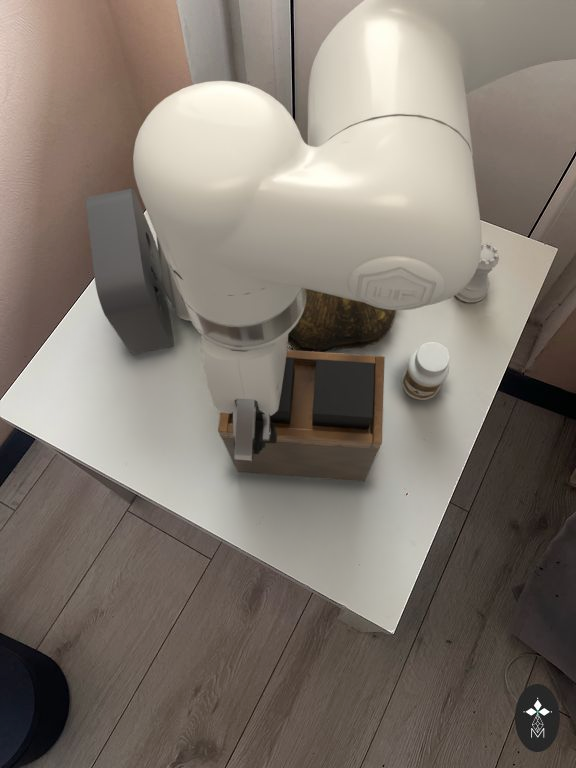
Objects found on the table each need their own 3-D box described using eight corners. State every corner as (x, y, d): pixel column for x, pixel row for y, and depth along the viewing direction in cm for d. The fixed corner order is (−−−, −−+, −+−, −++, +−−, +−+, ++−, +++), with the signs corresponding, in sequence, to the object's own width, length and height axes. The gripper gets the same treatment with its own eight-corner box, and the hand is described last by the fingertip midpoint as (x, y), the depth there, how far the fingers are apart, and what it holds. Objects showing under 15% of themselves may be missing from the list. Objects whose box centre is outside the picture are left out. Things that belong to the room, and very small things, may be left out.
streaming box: (80, 185, 64) (128, 176, 64) (119, 260, 78) (159, 252, 78) (93, 305, 59) (146, 294, 59) (133, 362, 73) (176, 354, 73)
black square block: (370, 377, 56) (374, 362, 52) (368, 430, 54) (372, 418, 51) (315, 373, 56) (316, 358, 53) (312, 426, 54) (312, 413, 51)
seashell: (389, 274, 75) (400, 254, 68) (400, 345, 74) (413, 332, 67) (257, 290, 75) (255, 272, 68) (266, 362, 74) (265, 351, 67)
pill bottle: (396, 393, 70) (406, 367, 63) (408, 360, 72) (419, 331, 65) (433, 406, 70) (448, 382, 62) (444, 373, 71) (460, 345, 64)
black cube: (240, 368, 56) (236, 353, 53) (294, 372, 56) (294, 357, 53) (234, 420, 55) (230, 407, 51) (290, 424, 54) (289, 412, 51)
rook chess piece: (493, 283, 75) (513, 246, 68) (476, 310, 74) (496, 276, 66) (460, 266, 76) (477, 228, 69) (443, 293, 75) (459, 257, 67)
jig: (367, 411, 70) (384, 356, 55) (365, 481, 67) (382, 443, 52) (245, 403, 70) (228, 345, 56) (237, 472, 68) (217, 431, 53)
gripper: (201, 164, 40) (231, 293, 56) (159, 416, 34) (207, 480, 50) (315, 169, 39) (313, 298, 55) (294, 426, 33) (299, 487, 49)
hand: (263, 384), depth 53 cm, fingers open, 9 cm apart
